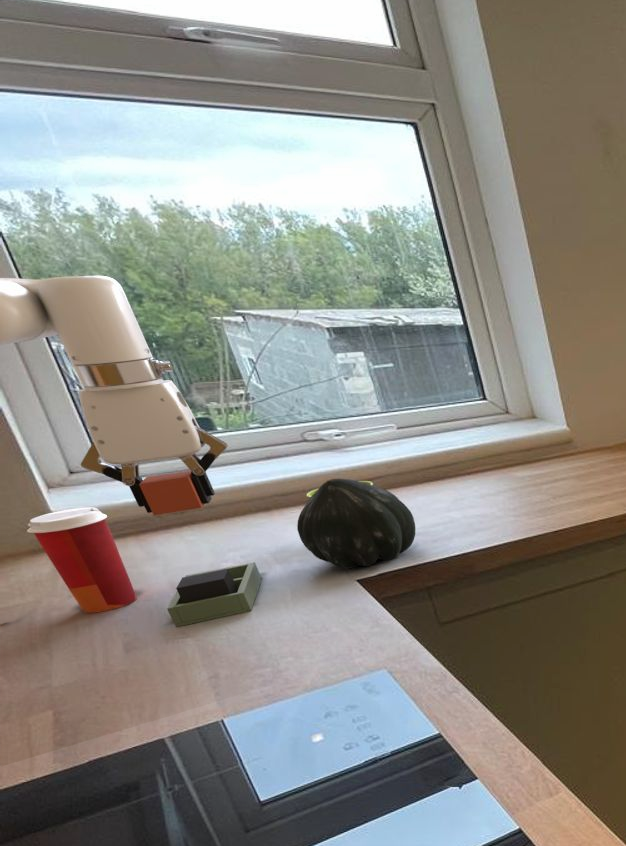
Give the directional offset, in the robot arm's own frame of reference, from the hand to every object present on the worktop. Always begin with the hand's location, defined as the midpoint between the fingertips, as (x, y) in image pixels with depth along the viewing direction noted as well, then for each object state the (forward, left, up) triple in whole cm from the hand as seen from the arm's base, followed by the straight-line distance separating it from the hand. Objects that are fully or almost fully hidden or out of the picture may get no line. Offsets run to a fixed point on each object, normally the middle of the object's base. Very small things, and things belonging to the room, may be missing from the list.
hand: (180, 504), depth 114 cm
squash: (+18, +4, -15) cm, 24 cm away
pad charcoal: (0, -5, -14) cm, 15 cm away
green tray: (0, -2, -15) cm, 15 cm away
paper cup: (-14, +8, -15) cm, 22 cm away
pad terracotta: (0, 0, 0) cm, 0 cm away
